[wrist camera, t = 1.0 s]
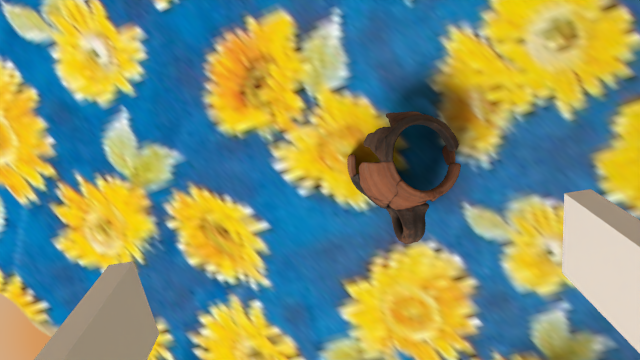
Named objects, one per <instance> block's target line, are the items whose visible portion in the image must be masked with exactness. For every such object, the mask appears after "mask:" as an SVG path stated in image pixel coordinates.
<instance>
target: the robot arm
mask: <svg viewBox="0 0 640 360" xmlns="http://www.w3.org/2000/svg"><path fill="white" fill-rule="evenodd" d="M562 273H563V274H564V275H565V276H566V277H567V278H568V279H569V280H570V282H571V283H572V284H573V285H574V286H575V287H576V288H577V289H578V290H579V291H580V292H581V293H582V294H583V295H584V296H585V297H586V298H587V299H588V300H589V301H590V302H591V303H592V304H593V305H594V306H595V307H596V308H597V309H598V311H599V312H600V313H601V314H602V315H603V316H604V317H605V318H606V319H607V320H608V321H609V322H610V323H611V324H612V325H613V326H614V327H615V328H616V329H617V330H618V331H619V332H620V333H621V334H622V335H623V336H624V337H625V338H626V340H627V341H628V342H629V343H630V344H631V345H632V346H633V347H634V348H635V349H636V350H637V351H638V352H639V353H640V220H639V219H637V218H635V217H634V216H632V215H631V214H629V213H627V212H626V211H624V210H623V209H621V208H620V207H618V206H616V205H615V204H613V203H612V202H610V201H608V200H607V199H605V198H604V197H602V196H601V195H599V194H597V193H596V192H594V191H593V190H591V189H589V190H583V191H577V192H570V193H565V195H564V226H563V258H562ZM158 335H159V332H158V329H157V326H156V323H155V320H154V318H153V315H152V312H151V309H150V307H149V304H148V301H147V298H146V296H145V293H144V290H143V287H142V285H141V282H140V279H139V276H138V274H137V271H136V268H135V265H134V262H127V263H120V264H114V265H109V266H108V267H107V268H106V270H105V271H104V272H103V273H102V275H101V276H100V277H99V278H98V280H97V281H96V282H95V284H94V285H93V286H92V287H91V289H90V290H89V291H88V292H87V294H86V295H85V296H84V297H83V299H82V300H81V301H80V302H79V304H78V305H77V306H76V307H75V309H74V310H73V311H72V312H71V314H70V315H69V316H68V317H67V319H66V320H65V321H64V323H63V324H62V325H61V326H60V328H59V329H58V330H57V331H56V333H55V334H54V335H53V336H52V338H51V339H50V340H49V342H48V343H47V344H46V345H45V346H44V348H43V349H42V350H41V352H40V353H39V354H38V355H37V357H36V358H35V359H34V360H147V359H148V356H149V354H150V352H151V350H152V348H153V346H154V344H155V341H156V339H157V337H158Z"/></svg>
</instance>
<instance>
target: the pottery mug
mask: <svg viewBox="0 0 640 360" xmlns="http://www.w3.org/2000/svg"><path fill="white" fill-rule="evenodd" d="M386 117H387V118H388V119H389V122H390V126H391V127H383V128H379V129H377V130H376V131H375V132H374V133H370V134H368V135H367V137H366V139H365V141H364V146H365V147H370V149H371V150H372V151H373V152H374V153H375V154H376V156H377V157H378V158H379V160H380V162H372V163H371V162H362V164H360V166H359V174H357V173H356V156H355V155H350V156H349V157H348V171H349V175H350V177H351V180H352V182H353V184H354V185H355V187H356V188H357V189H358V190H359V191H360V192H361V193H363V194H364V195H365V196H367V197H368V198H369V199H370V200H371V201H373V202H374V203H375V204H376V205H378V206H380V207H381V208H384V209H387V211H388V212H389V214H390V216H391V218H392V223H393V228H394V231H395V234H396V236H397V238H398V240H399V241H401V242H403V243H405V244H411V243H413V242H418V241H419V240H420V239H421V238H422V237H423V235H424V232H425V213H426V211H427V209H428V208H429V205H428V204H427V203H426V201H428V200H431V201H434V200H436V199H437V198H438V197H439V196H442V195H443V194H444V193H446V192H447V191H448V190H449V189H450V188H452V186H453V185H454V183H455V182H456V180H457V178H458V175H459V172H460V167H461V165H460V164H458V163H455V151H456V150H457V148H458V145H459V143H458V140H457V138H456V136H455V135H454V133H453V132H452V131H451V129H450V128H449V127H448V126H447V125H446V124H445V123H444V122H442V121H441V120H439V119H436V118H434V117H432V116H429V115H426V114H424V115H423V114H421V113H419V112H399V113H388V114H386ZM416 124H421V125H426V126H429V127H430V128H432V129H433V130H435V131H436V132H437V133H438V134H439V135H440V136H441V137H442V138H443V140H444V142H445V144H446V145H445V146H444V148H443V150H442V153H443V156H444V159H445V162H446V164H447V165H449V167H448V171H447V174H446V176H445V178H444V180H443V181H442V182H441V183H440V184H439V185H438V186H437V187H435V188H433V189H431V190H427V191H422V190H417V189H414V188H412V187H410V186H409V185H407V184H406V183H405V182H404V181H403V180H402V179H401V177H400V176H399V174H398V172H397V170H396V167H395V164H394V161H393V149H394V145H395V142H396V140H397V138H398V136H399V135H400V133H401V132H402V131H403V130H404V129H405V128H407V127H409V126H411V125H416Z"/></svg>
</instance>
